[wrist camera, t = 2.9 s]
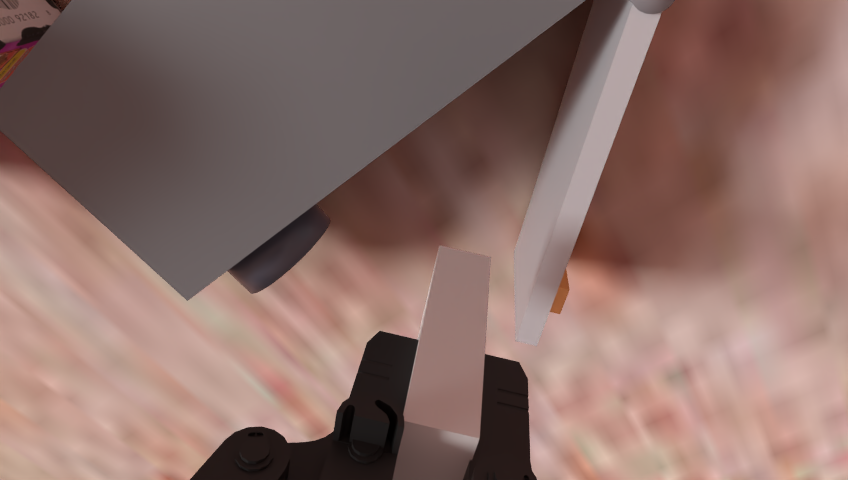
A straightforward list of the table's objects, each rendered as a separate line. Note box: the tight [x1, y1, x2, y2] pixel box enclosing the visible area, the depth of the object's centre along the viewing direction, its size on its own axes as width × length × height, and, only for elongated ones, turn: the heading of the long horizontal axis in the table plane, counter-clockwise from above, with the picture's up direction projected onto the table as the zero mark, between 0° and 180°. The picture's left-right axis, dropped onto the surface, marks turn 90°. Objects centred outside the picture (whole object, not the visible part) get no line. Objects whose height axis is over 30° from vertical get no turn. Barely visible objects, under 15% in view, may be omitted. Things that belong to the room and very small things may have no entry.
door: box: [514, 0, 675, 346], centre depth 21 cm, size 13×2×7 cm, turn 169°
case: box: [0, 0, 585, 301], centre depth 20 cm, size 18×11×8 cm, turn 129°
